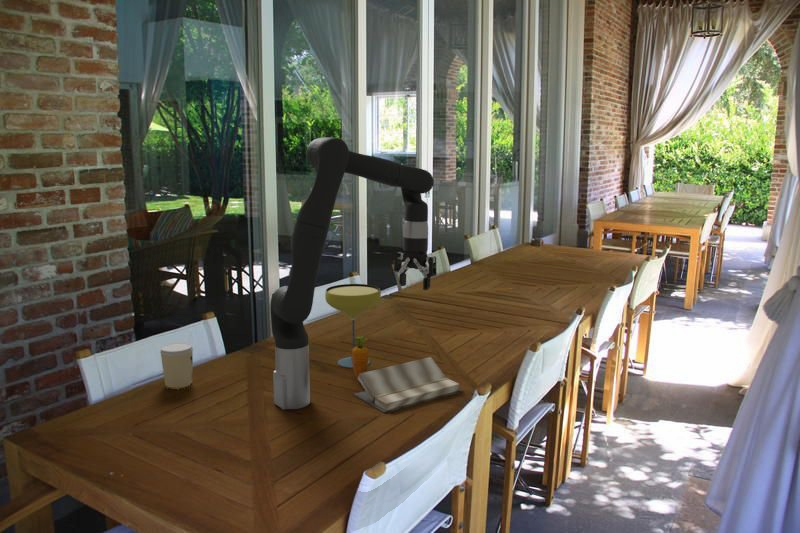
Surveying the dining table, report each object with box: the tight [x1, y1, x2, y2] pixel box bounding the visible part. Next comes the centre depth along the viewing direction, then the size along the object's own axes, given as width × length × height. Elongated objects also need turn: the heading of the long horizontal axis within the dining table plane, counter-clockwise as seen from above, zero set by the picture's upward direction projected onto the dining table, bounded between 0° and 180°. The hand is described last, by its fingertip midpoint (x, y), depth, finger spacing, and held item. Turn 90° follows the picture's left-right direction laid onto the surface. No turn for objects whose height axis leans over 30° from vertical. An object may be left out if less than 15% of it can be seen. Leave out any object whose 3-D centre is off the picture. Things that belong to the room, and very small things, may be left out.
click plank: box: [357, 356, 447, 401], centre depth 197 cm, size 26×9×2 cm
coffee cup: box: [159, 342, 194, 388], centre depth 200 cm, size 9×9×12 cm
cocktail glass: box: [324, 283, 382, 369], centre depth 219 cm, size 18×18×25 cm
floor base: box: [353, 377, 464, 414], centre depth 195 cm, size 28×16×3 cm, turn 125°
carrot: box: [351, 334, 369, 383], centre depth 202 cm, size 5×5×15 cm
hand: (414, 287), depth 205 cm, fingers open, 8 cm apart
